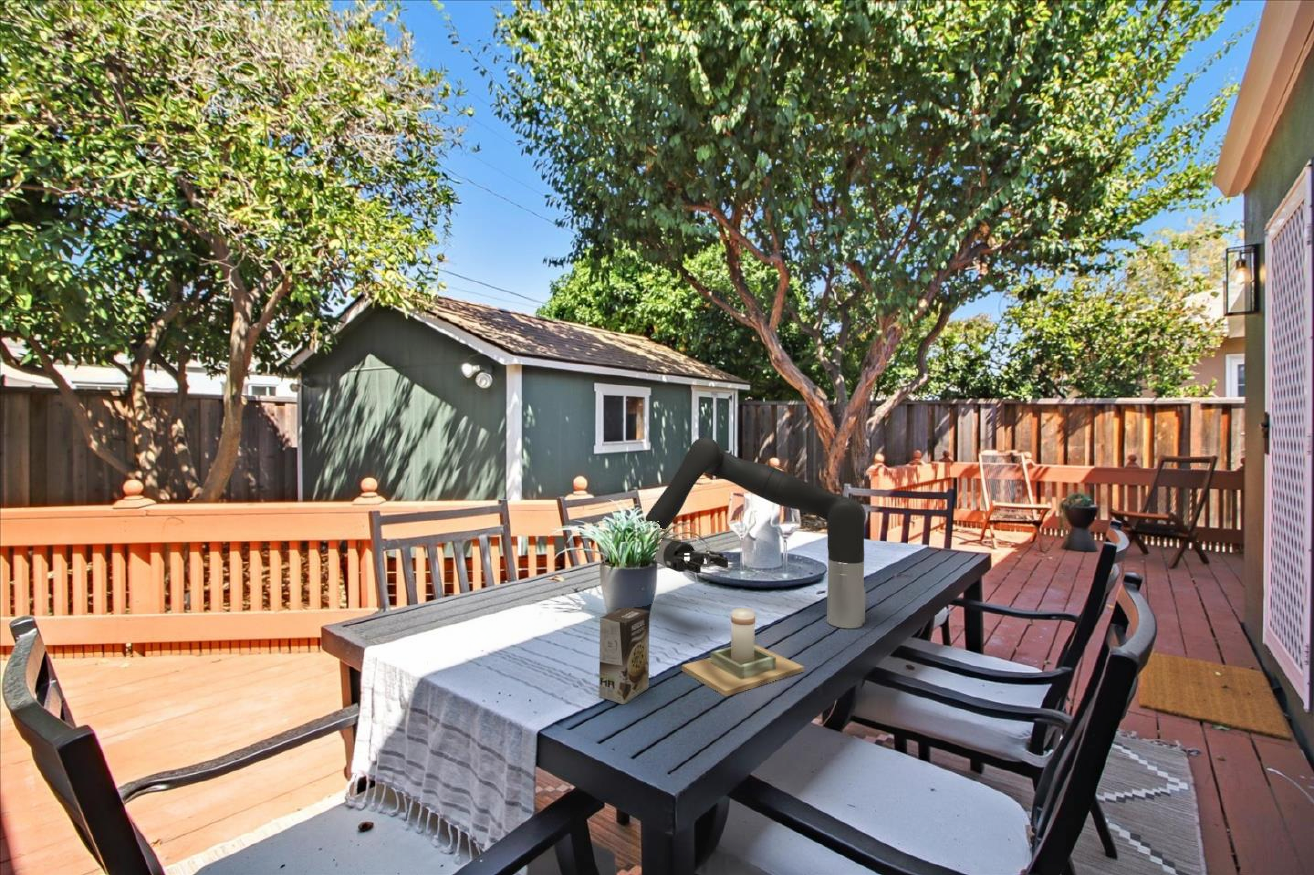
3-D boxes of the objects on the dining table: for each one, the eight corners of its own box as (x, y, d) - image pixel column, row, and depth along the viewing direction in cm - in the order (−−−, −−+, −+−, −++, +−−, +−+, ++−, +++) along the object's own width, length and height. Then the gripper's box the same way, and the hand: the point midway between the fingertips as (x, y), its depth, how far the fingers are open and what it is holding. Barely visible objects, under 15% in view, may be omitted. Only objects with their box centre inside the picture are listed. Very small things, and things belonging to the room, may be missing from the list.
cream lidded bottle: (743, 659, 143) (744, 606, 142) (759, 667, 138) (760, 612, 138) (725, 664, 140) (726, 610, 139) (741, 672, 136) (742, 617, 135)
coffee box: (624, 705, 123) (625, 623, 122) (598, 697, 126) (598, 617, 125) (650, 688, 131) (650, 610, 130) (624, 680, 134) (624, 605, 133)
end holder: (756, 650, 152) (756, 634, 151) (803, 672, 139) (804, 655, 139) (681, 670, 139) (681, 653, 139) (725, 696, 127) (726, 678, 127)
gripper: (651, 543, 163) (690, 555, 150) (695, 536, 171) (735, 547, 158) (651, 572, 163) (690, 586, 150) (695, 564, 171) (736, 577, 158)
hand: (713, 566), depth 154 cm, fingers open, 8 cm apart
